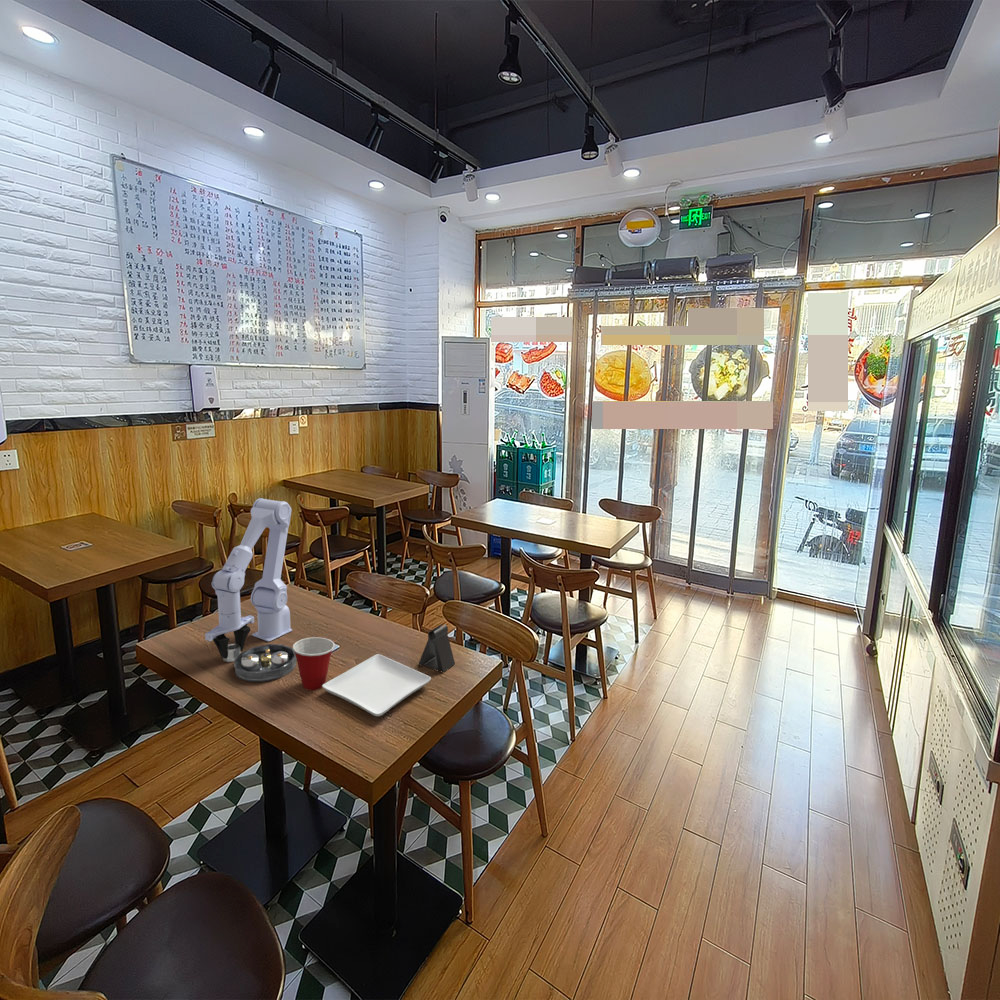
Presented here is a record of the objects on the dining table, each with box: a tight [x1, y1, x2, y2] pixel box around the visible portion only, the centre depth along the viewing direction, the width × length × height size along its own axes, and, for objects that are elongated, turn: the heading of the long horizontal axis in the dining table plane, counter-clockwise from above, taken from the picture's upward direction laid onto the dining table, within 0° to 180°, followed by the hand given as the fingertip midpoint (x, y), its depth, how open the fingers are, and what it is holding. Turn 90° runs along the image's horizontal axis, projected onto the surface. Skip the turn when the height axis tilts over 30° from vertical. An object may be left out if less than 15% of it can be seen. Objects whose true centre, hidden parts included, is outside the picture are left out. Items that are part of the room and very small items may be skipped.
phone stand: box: [418, 623, 456, 673], centre depth 159 cm, size 9×6×12 cm, turn 60°
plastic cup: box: [292, 636, 336, 691], centre depth 145 cm, size 11×11×12 cm
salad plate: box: [322, 653, 432, 717], centre depth 145 cm, size 21×21×3 cm
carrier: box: [233, 643, 297, 683], centre depth 153 cm, size 16×16×5 cm
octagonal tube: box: [223, 643, 242, 663], centre depth 157 cm, size 4×4×3 cm
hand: (232, 653), depth 157 cm, fingers closed on octagonal tube, 4 cm apart
